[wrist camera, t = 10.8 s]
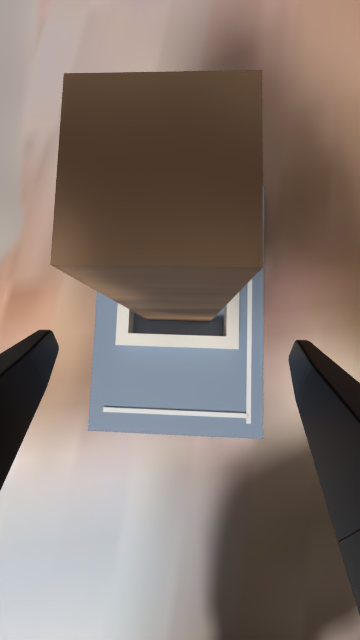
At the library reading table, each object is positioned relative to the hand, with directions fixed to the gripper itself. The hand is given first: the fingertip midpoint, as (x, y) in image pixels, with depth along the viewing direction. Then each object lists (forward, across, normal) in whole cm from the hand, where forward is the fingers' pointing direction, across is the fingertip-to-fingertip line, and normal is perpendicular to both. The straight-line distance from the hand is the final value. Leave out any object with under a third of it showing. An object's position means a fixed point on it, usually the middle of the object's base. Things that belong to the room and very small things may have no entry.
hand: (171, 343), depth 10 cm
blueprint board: (+9, 0, +5) cm, 10 cm away
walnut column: (+9, 0, +3) cm, 9 cm away
